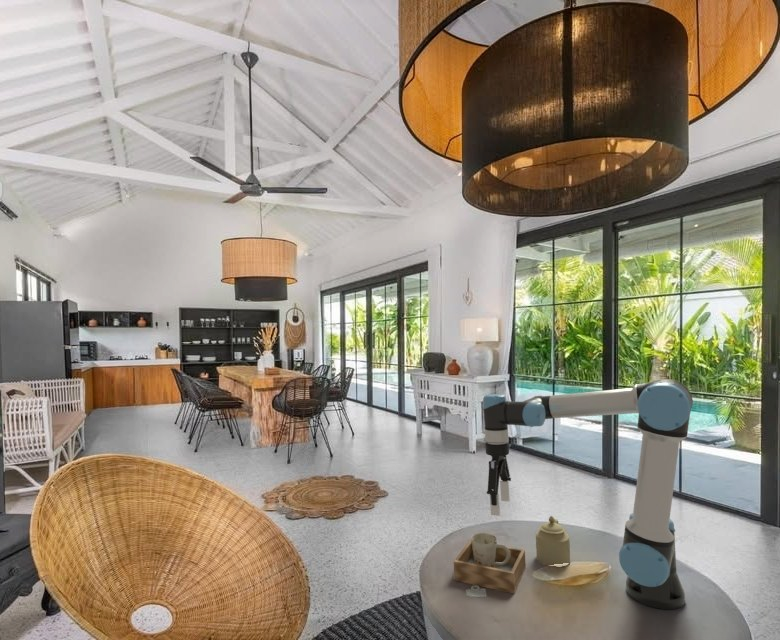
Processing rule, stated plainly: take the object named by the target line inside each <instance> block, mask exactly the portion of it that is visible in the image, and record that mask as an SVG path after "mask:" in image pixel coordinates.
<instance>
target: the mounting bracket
mask: <svg viewBox="0 0 780 640" xmlns="http://www.w3.org/2000/svg"><path fill="white" fill-rule="evenodd" d="M480 587H481V586H477V585H471V587H470V588H465V592H466V594H465V595H466V597H469V598H470V597H471V598H476V597H477V598H486V597H487V592H486V588H480Z"/></svg>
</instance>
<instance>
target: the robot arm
mask: <svg viewBox="0 0 780 640" xmlns="http://www.w3.org/2000/svg"><path fill="white" fill-rule="evenodd" d="M693 403H694V400H693V396H692V393H691V391H690V389H688V387H687V386H686V385H684V383H682V382H680V381H678V380H675V379H671V378H664V379H659V380H655V381H650V382H644V383H636V384H635V385H634V386H633V387H629V388H628V387H627V388H619V389H618V388H617V389H607V390H597V391H587V392H586V391H585V392H573V393H565V394H553V395H552V394H551V395H535V396H533V397H531V398H529V399H528V398H527V399H526V400H523V401H511V400H507V397H506V395H505V394H503V393H502V394H501V393H498V394H497V393H494V394H493V393H492V394H486V395H484V397H483V398H482V410H483V425H484V431H483V432H482V433H483V435H484V441H485V443H484V444H485V445H484V446H485V454H486V455H487V456H490V457H491V460H490V461H488V479H487V491H486V494H487V495H489V501H490V515H491V516H498V517H500V516H501V509H500V508H501V507H500V506H501V504H500V501H501V502H508V503H509V502H510V487H509V486H510V485H509V482H511V481H512V480H511V479H512V477H511V474H510V469H509V464H508V460H507V456H509V454H510V445H509V441H510V440H509V430H508V429H509V428H508V427H509V426H511V425H512V426H519V427H520V426H523V427H530V428H533V427H543V425H544V424H545V422H546V420H548V419H551V420H552V419H561V418H575V417H576V418H580V417H581V418H582V417H593V416H596V417H597V416H612V415H628V414H629V415H630V414H631V415H632V414H638V417H637V429H638V430H639V431H640V433H641V434H642V438H641V445H640V446H641V448H640V455H639V463H638V470H637V478H636V486H635V494H634V503H633V511H632V513H631V514H629V518H628V519H629V520H626V521H625V525H624V533H623V534H624V535H623V542H622V546H621V548H620V550H619V555H618V557H619V559H618V560H619V564H620V567H621V569H622V570H623V572H624V573H625V574H626V580H625V589H626V593H627V594H628V595H629V596H630V597H631V598H632V599H633V600H635V601H637V602H638V603H640V604H642V605H646V606H648V607H650V608H651V607H652V608H655V609H661V610H676V609H680V608H681V607H682V608H683V606H684V605H685V604H686V594H685V591H684V588H683V584H682V583H681V580H680V578H679V575H678V572H677V559H676V540H675V539H676V538H675V535H676V534H675V532H676V529H675V524H674V521H673V520H672V519H671V512H672V505H673V496H674V488H675V487H674V486H675V479H676V473H677V466H678V465H677V463H678V455H679V448H680V442H681V441H683V440H686V439H687V438H688V433H689V424H690V418H691V417H690V415H691V411H692V408H693V405H694V404H693ZM499 485H500V494H499Z"/></svg>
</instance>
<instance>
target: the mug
mask: <svg viewBox="0 0 780 640" xmlns="http://www.w3.org/2000/svg"><path fill="white" fill-rule="evenodd" d="M470 540H471V542H472V548H473V555H474V561H475V564H477V565H482V566H487V567H492V568H495V565H505V564H506V563H507V562H508V561H509V560H510V557H511V554H510V550H509V549H508V547H509V546H507V545H506V544H503V543H498V539H497V537H496V535H494V534H491V533H485V532H478V533H475V534H474V533H473V534H472V535H471V537H470ZM496 548H503V549H504V550H505V551H506V553H507V557H506V559H505V560H504V561H503V562H495V557H496Z"/></svg>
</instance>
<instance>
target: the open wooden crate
mask: <svg viewBox="0 0 780 640" xmlns="http://www.w3.org/2000/svg"><path fill="white" fill-rule="evenodd" d="M507 547H508V549H509V550H510V554H511V557H510V560H509V561H508V562H507V563H506V564H505V565H495V568H492V567H487V566H482V565H477V564H475V561H474V555H473V548H472V542H471V539H470V540H469V541H468V542H467V544H465V546H464V547H463V549H461V551H460V553H459V554H458V555H457V557H455V559H454V560H453V570H454V571H453V579H454V581H456V582H461V583H465V584H469V585H472V586H474V585H476V586H479V587H483V588H485V589H486V588H487V589H492V590H496V591H499V592H504V593H508V594H512V595H515V594H516V591H517V590H518V587H519V585H520V582H521V581H522V580H521V579H522V578H523V576H524V573H525V571H526V568H527V567H526V566H527V565H526V549H521V548H517V547H510V546H507ZM506 557H507V553H506V551H505V550H504V549H503V548H496V557H495V562H503V561H504V560H505V559H506ZM518 584H519V585H518Z"/></svg>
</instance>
